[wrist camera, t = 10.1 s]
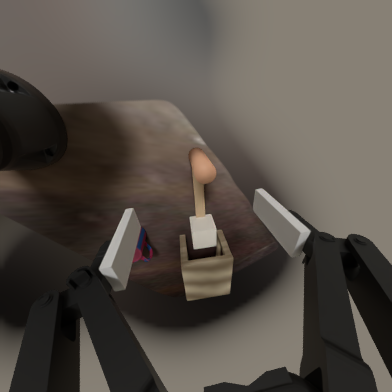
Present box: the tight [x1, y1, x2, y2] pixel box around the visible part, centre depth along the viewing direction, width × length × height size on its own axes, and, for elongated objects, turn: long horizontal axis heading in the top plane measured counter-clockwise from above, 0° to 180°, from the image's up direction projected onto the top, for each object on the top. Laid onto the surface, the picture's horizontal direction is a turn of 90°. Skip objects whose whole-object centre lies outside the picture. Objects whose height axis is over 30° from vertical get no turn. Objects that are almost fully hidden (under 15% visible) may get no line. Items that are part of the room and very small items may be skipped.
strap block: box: [189, 148, 216, 249], centre depth 33 cm, size 24×6×11 cm, turn 4°
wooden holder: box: [180, 230, 233, 301], centre depth 43 cm, size 16×13×10 cm
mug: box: [132, 227, 153, 263], centre depth 39 cm, size 7×10×7 cm
